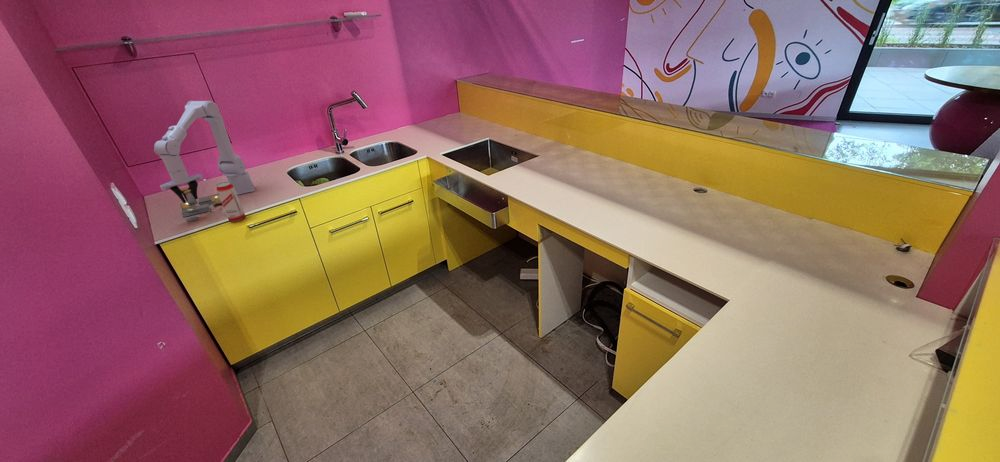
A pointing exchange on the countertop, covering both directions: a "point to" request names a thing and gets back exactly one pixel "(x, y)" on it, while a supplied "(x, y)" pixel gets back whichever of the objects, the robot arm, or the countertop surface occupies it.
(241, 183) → the robot arm
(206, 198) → the fixed leaf
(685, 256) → the countertop surface
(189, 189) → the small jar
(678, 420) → the countertop surface
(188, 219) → the pad
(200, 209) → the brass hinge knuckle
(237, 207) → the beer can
